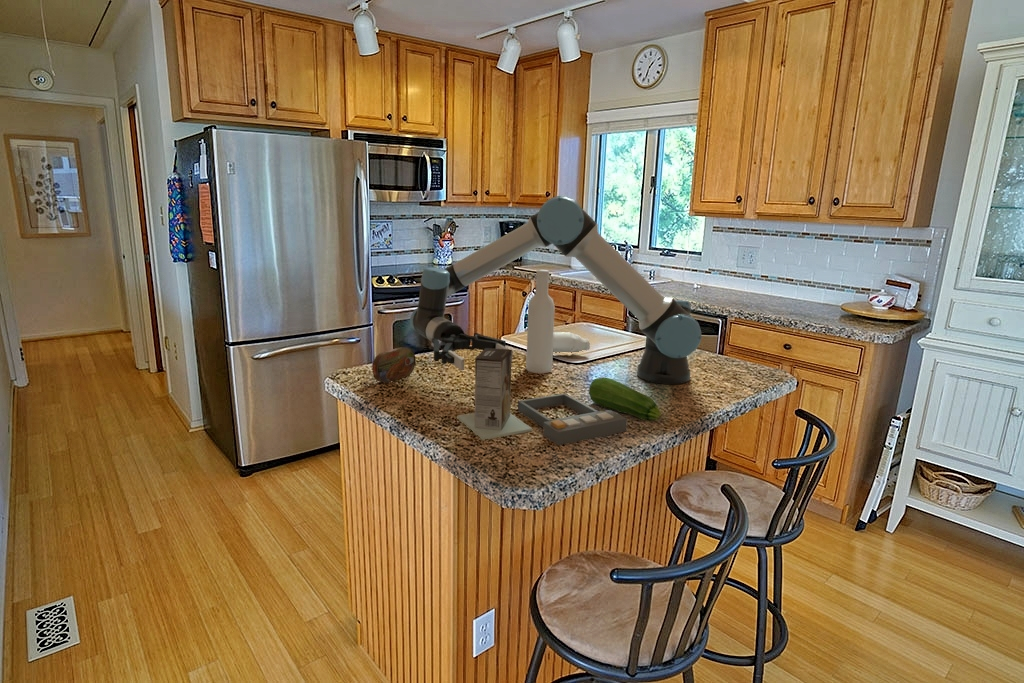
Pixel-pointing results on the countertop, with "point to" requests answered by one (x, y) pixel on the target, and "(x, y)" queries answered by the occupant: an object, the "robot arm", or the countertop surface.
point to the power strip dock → (572, 420)
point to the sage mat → (509, 428)
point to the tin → (393, 364)
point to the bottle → (540, 327)
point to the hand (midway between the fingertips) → (487, 360)
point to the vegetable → (622, 399)
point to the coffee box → (492, 388)
